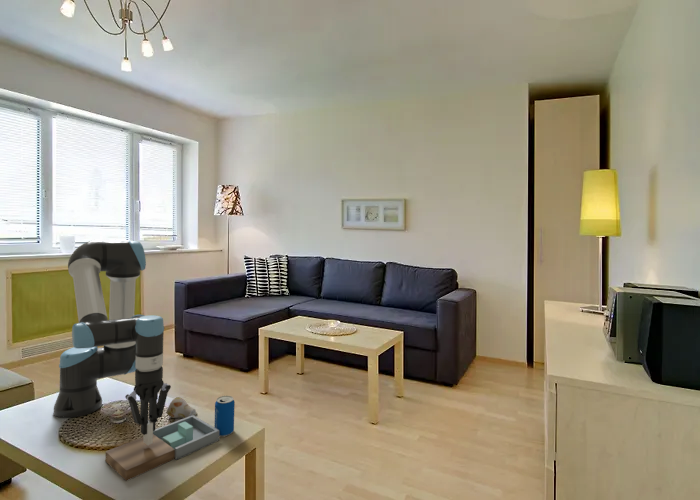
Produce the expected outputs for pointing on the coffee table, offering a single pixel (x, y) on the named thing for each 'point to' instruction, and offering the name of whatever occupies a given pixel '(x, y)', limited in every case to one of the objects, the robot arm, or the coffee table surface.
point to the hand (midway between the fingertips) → (148, 442)
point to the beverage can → (224, 415)
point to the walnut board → (139, 457)
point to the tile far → (186, 430)
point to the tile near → (175, 439)
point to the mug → (180, 409)
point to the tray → (201, 435)
